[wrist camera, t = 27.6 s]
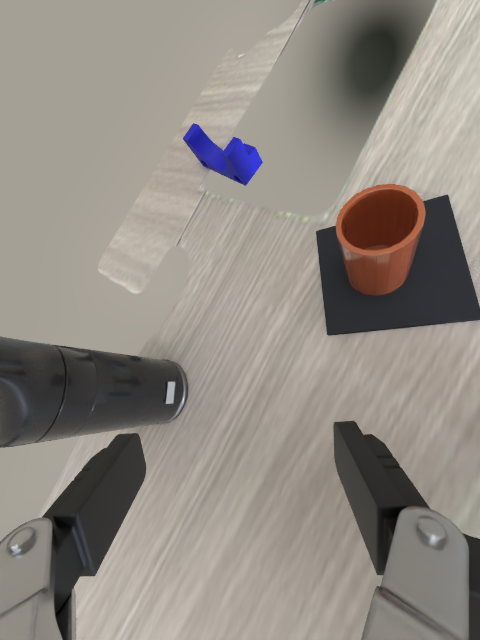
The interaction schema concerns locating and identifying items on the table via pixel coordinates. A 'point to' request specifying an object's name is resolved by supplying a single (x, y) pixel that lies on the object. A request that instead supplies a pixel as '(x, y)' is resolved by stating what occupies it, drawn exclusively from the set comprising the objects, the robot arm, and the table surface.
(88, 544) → the robot arm
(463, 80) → the table surface
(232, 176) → the blue cradle bracket
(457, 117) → the table surface
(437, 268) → the desk mat
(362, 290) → the cup
